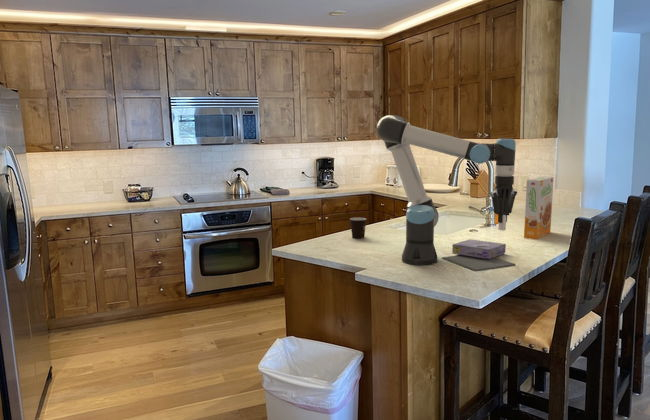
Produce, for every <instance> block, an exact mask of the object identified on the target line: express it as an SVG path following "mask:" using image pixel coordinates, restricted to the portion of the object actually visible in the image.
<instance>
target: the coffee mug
mask: <svg viewBox="0 0 650 420" xmlns="http://www.w3.org/2000/svg"><path fill="white" fill-rule="evenodd" d="M349 220H350V221H349V222H350V230H351V238H352V239H354V238H355V239H356V240H362V239H365V235H366V234H365V233H366V227H367V218H365V217H351V218H349ZM361 238H362V239H361ZM355 239H354V240H355Z"/></svg>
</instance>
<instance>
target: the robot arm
mask: <svg viewBox="0 0 650 420" xmlns="http://www.w3.org/2000/svg"><path fill="white" fill-rule="evenodd" d="M375 131H376V134H377V136H378V137H379V139H380V140H382V141H383V142H384V146H385V148H386V150H388V151H390V152H391V154H392V157H393V161H394V164H395V166H396V170H397V172H398V175H399V178H400V180H401V184H402V187H403V189H404V192H405V196H406V198H407V201H408V203H407V205H406V214H405V218H406V220H405V221H406V223H405V224H406V225H405V226H406V227H405V231H406V232H405V235H406V236H405V238H406V239H405V246H404V248H403V251H402V254H401V262H403V263H405V264H409V265H413V266H430V265H435V264H437V263H438V254H437V250H436V248H435V244H434V241H435V240H434V239H435V237H434V236H435V235H434V234H435V227H436V226H437V225H438V222H439V218H440V217H439V212H438V210H437V208H436V207H435V205H434V202H433V199H432V197H430V196H429V195H427V192H426V189H425V186H424V183H423V181H422V178H421V175H420V172H419V169H418V165H417V164H416V160H415V157H414V154H413V151H412V148H411V145H412V146H415V147H419V148H423V149H427V150H429V151H434V152H437V153H442V154H444V155H449V156H452V157H456V158H459V159H463V160H466V161H469V162H473V163H475V164H478V165H479V164H480V165H481V164H484V163H487V162H495V172H494V173H495V176H494V184H495V188H494V191H491V192H490V193H489V194H490V197H491V199H492V200H491V201H492V207H493V208H492V209H493V212H494V214H496V215H497V223H498V227H497V228H498V230H499V231H502V232H504V231H506V230H507V229H506V228H507V222H508V216H510V214H512V211H513V208H514V203H515V199H516V196H517V194H518V191H517V190H514V188H513V185H514V184H515V183H514V181H515V166H516V165H515V164H516V163H515V162H516V151H517V149H516V148H517V147H516V140H515V139H514V138H497V139H496V142H495V143H484V142H483V143H479V142H474V141H470V140H467V139H463V138H459V137H455V136H452V135H449V134H443V133H441V132H437V131H433V130H430V129H426V128H423V127H418V126H415V125H411V123H410V122H409V121H406V119H404V117H402V116H400V115H393V114H390V115H389V114H387V115H385V116H383V117H381V118H380V119H379V120H378V121H377V124H376V130H375Z"/></svg>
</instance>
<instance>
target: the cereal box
mask: <svg viewBox="0 0 650 420" xmlns="http://www.w3.org/2000/svg"><path fill="white" fill-rule="evenodd" d="M553 191H554V176H541V175H540V176H537V177H533V178H529V179H528V178H527V179H526V190H525V208H524V209H525V212H524V228H523V229H524V230H523V231H524V233H523V238H524V239H529V238H531V239H532V240H538V239H540V238H542V237H543V235H544V236H545V234H546V235H548V234H550V233H551V227H552V208H553V195H554V194H553ZM549 232H550V233H549ZM547 233H548V234H547ZM541 236H542V237H541ZM539 237H540V238H539ZM531 239H530V240H531Z"/></svg>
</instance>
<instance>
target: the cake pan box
mask: <svg viewBox="0 0 650 420" xmlns="http://www.w3.org/2000/svg"><path fill="white" fill-rule="evenodd" d="M451 246H452V248H451V249H452V251H451V253H452V254H453V255H465V256H472V257H478V258H485V259H491V258H493V257H496V258H497V257H498V256H501V255H504V254H506V246H507V245H506V243H501V242H494V241H485V240H479V239H478V240H477V239H471V238H470V239H467V240H462V241H459V242H457V243H456V242H455V243H453V244H452V245H451Z"/></svg>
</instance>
